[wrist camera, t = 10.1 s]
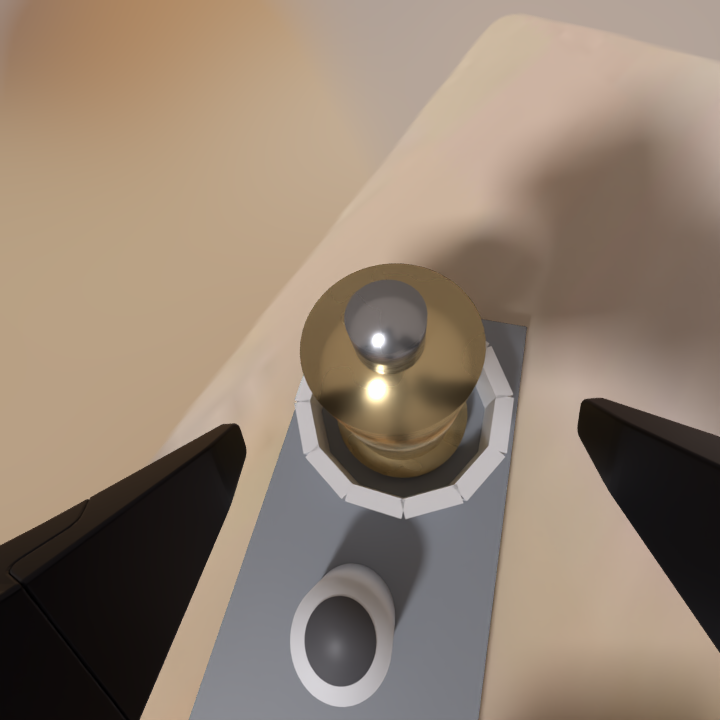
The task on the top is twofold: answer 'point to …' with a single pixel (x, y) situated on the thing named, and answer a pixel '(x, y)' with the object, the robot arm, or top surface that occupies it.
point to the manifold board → (399, 551)
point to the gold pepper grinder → (395, 365)
